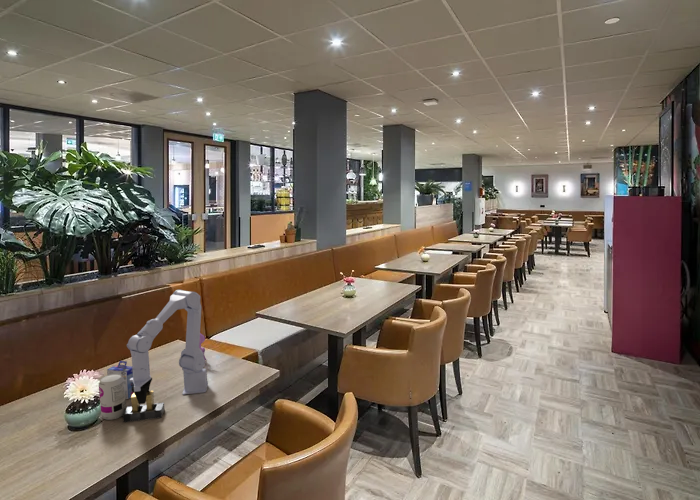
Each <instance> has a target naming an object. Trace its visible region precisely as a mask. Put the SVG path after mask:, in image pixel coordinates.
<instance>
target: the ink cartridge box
mask: <svg viewBox="0 0 700 500" xmlns="http://www.w3.org/2000/svg"><path fill="white" fill-rule="evenodd" d="M106 373H107V375H111V374H120V375H121V376H122V377H123V379H124V390H125V400H129V399H131V396H132V394H133V393H134V392H133V391H132V387H133V386H134V384H133V382H130V378H133V370H132V365H128V361H124V360H119V362H118V364H115V365H113V366H111V367H110V368H107V369H106ZM107 375H106V376H107Z"/></svg>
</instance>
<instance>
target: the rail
mask: <svg viewBox="0 0 700 500" xmlns="http://www.w3.org/2000/svg"><path fill="white" fill-rule="evenodd" d="M164 412H165V402H163V401H162V402H156V403H155V402H154V407H153V409H152V410H147V405H146V403H145V404H140V408H139V410H138V412H132V405H130V406H129V405H128V406H126V410H125V412H124V414H123V415H122V419H123V423H127V422H128V423H130V422H138V421H144V420H152V419H153V420H155V419H161V418H163V414H164Z"/></svg>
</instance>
